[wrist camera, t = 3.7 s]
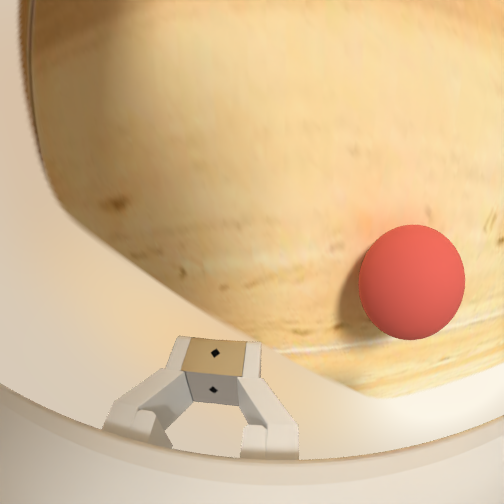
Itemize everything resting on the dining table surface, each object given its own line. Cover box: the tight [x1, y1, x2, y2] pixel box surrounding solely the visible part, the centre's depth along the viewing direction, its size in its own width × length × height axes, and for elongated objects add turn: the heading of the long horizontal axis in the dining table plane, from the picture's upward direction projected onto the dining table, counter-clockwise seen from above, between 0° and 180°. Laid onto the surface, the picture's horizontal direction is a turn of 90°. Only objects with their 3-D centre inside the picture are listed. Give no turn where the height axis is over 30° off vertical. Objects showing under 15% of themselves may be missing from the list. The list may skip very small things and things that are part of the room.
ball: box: [358, 225, 465, 340], centre depth 12 cm, size 6×6×6 cm
